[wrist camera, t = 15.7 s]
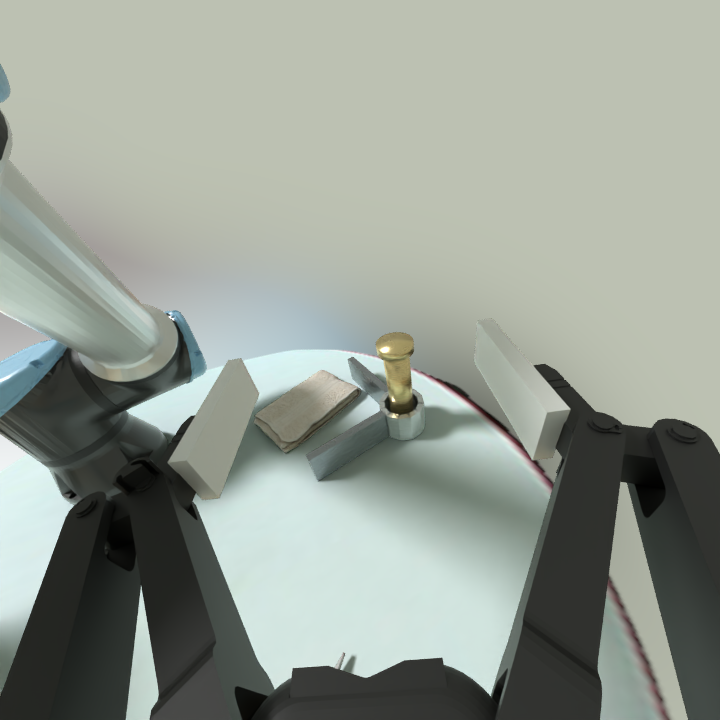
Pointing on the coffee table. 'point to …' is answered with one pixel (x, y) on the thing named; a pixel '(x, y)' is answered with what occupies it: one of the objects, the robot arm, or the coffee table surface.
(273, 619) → the coffee table surface
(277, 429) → the washcloth
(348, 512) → the coffee table surface
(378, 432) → the hinge
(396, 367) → the hinge pin
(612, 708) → the coffee table surface
